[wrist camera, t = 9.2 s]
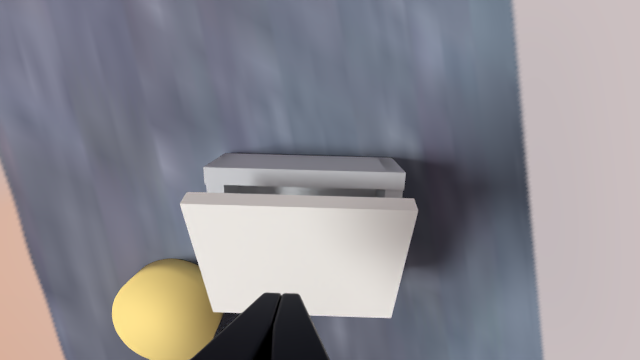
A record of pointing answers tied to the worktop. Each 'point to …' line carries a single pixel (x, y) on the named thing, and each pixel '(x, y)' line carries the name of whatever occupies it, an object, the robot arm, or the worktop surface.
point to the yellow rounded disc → (165, 311)
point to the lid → (301, 249)
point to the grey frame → (305, 175)
